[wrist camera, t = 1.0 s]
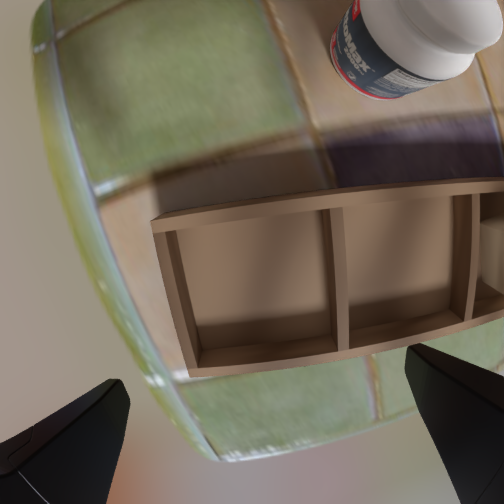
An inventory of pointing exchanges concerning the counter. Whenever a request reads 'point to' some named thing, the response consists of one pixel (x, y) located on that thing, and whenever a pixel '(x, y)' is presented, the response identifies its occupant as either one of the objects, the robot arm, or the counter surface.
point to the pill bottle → (410, 43)
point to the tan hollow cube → (493, 251)
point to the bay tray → (326, 273)
